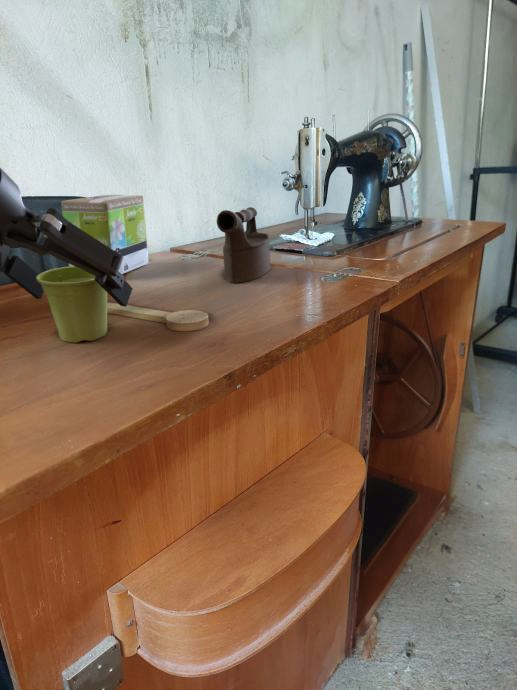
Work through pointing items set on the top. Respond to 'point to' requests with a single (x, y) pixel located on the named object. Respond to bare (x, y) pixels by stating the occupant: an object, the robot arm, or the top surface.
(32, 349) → the top surface
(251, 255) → the clothes iron
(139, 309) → the spoon
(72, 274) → the plant pot
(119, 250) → the tea box
